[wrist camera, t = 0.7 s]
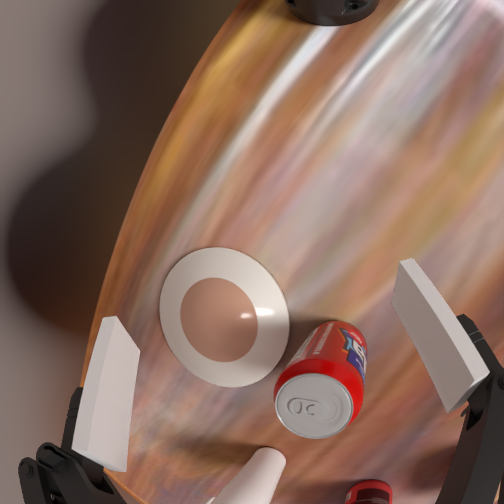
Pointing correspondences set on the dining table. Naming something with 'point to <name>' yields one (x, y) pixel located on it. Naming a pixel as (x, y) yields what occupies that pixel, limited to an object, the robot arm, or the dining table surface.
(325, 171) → the dining table surface
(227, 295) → the cream plate
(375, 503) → the canned food
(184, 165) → the dining table surface
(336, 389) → the soda can
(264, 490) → the drinking glass
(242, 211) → the dining table surface
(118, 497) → the robot arm
